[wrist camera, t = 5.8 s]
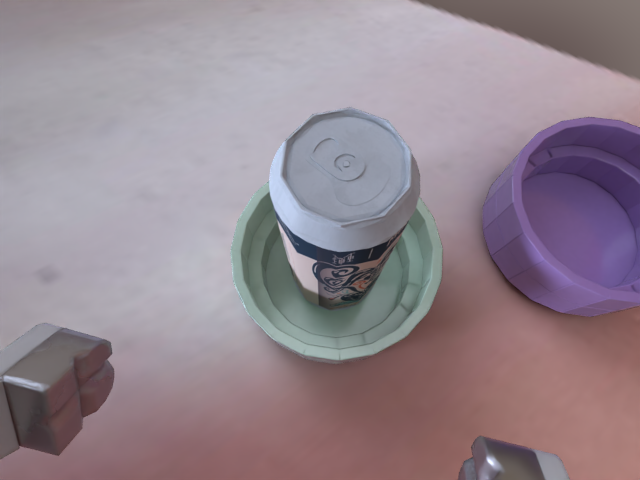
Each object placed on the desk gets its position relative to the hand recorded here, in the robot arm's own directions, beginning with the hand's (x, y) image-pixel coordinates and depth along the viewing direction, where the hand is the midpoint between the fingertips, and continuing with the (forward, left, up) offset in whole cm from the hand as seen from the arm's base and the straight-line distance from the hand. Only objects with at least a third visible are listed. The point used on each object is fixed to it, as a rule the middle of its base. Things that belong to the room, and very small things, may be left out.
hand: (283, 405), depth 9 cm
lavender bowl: (+10, +15, -13) cm, 22 cm away
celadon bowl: (-1, +6, -13) cm, 15 cm away
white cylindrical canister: (-1, +6, -13) cm, 15 cm away
